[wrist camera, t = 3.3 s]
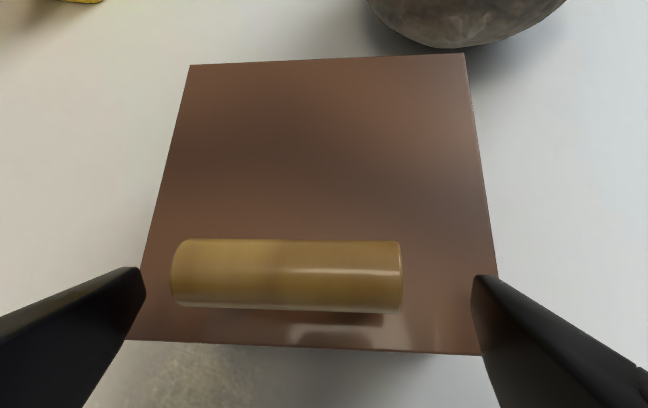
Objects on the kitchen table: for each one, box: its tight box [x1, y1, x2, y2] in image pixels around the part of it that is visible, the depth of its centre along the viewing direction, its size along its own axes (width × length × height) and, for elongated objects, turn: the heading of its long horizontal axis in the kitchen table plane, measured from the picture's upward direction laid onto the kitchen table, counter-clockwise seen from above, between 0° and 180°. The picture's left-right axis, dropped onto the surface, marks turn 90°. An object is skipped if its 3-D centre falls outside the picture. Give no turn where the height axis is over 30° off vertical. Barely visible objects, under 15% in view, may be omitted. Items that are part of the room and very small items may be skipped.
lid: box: [125, 53, 499, 356], centre depth 11 cm, size 11×12×4 cm
